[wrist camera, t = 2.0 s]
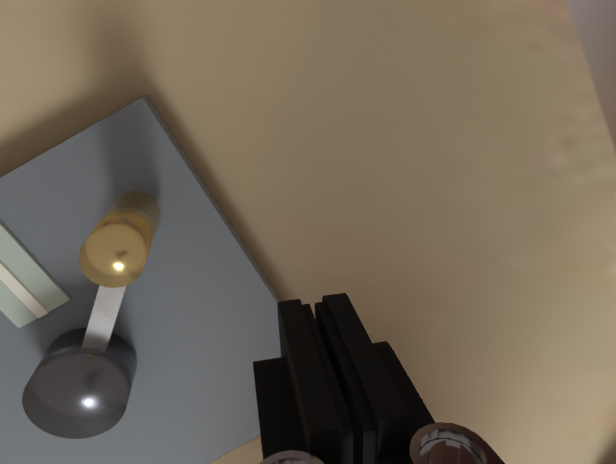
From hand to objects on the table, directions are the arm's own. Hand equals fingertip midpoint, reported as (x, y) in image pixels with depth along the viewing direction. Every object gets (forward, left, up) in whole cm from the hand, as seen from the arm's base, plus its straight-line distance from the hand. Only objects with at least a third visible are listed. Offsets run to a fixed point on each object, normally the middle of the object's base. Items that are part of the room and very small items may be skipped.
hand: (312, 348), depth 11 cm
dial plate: (-4, +14, -16) cm, 21 cm away
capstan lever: (-1, +10, -14) cm, 18 cm away
